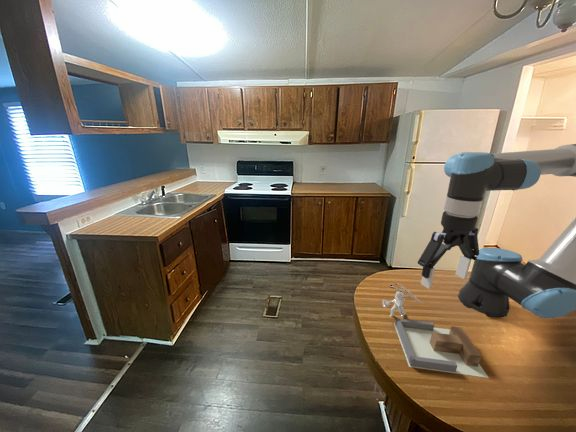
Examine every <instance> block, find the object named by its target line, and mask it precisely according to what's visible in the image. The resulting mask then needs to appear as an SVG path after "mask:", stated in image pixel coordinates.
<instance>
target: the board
mask: <svg viewBox="0 0 576 432" xmlns="http://www.w3.org/2000/svg"><path fill="white" fill-rule="evenodd" d="M393 326H394V328H395V331H396V335H397V336H398V339H399V342H400V345H401V348H402V350H403V354H404V355H405V356H404V357H405V359H406V362H407V364H408V368H414V369H415V368H416V369H421V370H429V371H430V370H431V371H436V372H443V373H450V374H458V375H465V376H473V377H479V378H487V379H489V376H488V374H487V373H486V372H485V370H484V369H483V367H482V366H481V364H480V363H479V364H478V367H476V366H469V365H466V364H465V363H464V361H463V359H462V358H461V356H460V355H459V354H455V353H447V352H440V351H434V350H433V348H432V346H431V344H430V339H431V335H432V333H441V334H449V332H450V329H451V328H450V329H449V328H442V327H441V328H440V327H435V323H434V322H433V321H427V320H426V321H424V320H416V319H415V320H414V319H406V318H395V322H393Z"/></svg>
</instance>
